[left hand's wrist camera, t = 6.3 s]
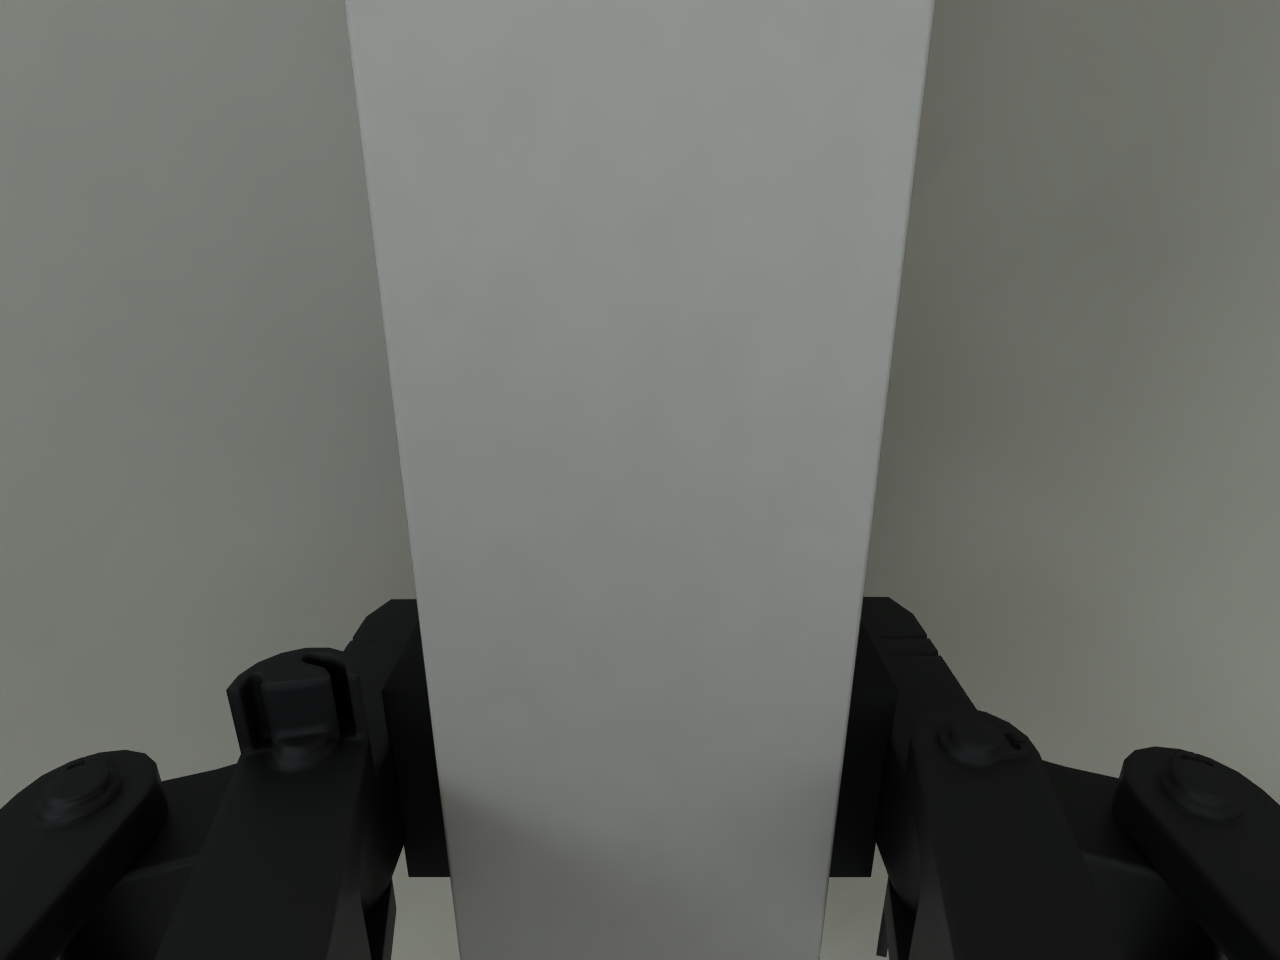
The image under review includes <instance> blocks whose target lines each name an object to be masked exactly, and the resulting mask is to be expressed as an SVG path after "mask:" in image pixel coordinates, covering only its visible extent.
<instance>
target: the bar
mask: <svg viewBox="0 0 1280 960" xmlns="http://www.w3.org/2000/svg"><path fill="white" fill-rule="evenodd" d="M344 3H345V12H346V20H347V28H348V37H349V45H350V53H351V61H352V70H353V78H354V86H355V94H356V103H357V111H358V119H359V127H360V136H361V144H362V152H363V160H364V169H365V177H366V185H367V193H368V202H369V210H370V218H371V226H372V235H373V243H374V251H375V259H376V268H377V276H378V284H379V293H380V301H381V309H382V317H383V326H384V334H385V342H386V350H387V359H388V367H389V375H390V383H391V392H392V400H393V408H394V416H395V425H396V433H397V441H398V449H399V458H400V466H401V474H402V482H403V491H404V499H405V507H406V515H407V524H408V532H409V540H410V549H411V557H412V565H413V573H414V582H415V590H416V598H417V606H418V615H419V623H420V631H421V639H422V648H423V656H424V664H425V672H426V681H427V689H428V697H429V705H430V714H431V722H432V730H433V738H434V747H435V755H436V763H437V771H438V780H439V788H440V796H441V805H442V813H443V821H444V829H445V838H446V846H447V854H448V862H449V871H450V879H451V887H452V895H453V904H454V912H455V920H456V928H457V937H458V945H459V953H460V960H819V958H820V949H821V941H822V933H823V924H824V916H825V908H826V900H827V891H828V883H829V875H830V867H831V858H832V850H833V842H834V833H835V825H836V817H837V809H838V800H839V792H840V784H841V776H842V767H843V759H844V751H845V742H846V734H847V726H848V718H849V709H850V701H851V693H852V685H853V676H854V668H855V660H856V652H857V643H858V635H859V627H860V618H861V610H862V602H863V594H864V585H865V577H866V569H867V561H868V552H869V544H870V536H871V527H872V519H873V511H874V503H875V494H876V486H877V478H878V470H879V461H880V453H881V445H882V437H883V428H884V420H885V412H886V403H887V395H888V387H889V379H890V370H891V362H892V354H893V346H894V337H895V329H896V321H897V312H898V304H899V296H900V288H901V279H902V271H903V263H904V255H905V246H906V238H907V230H908V221H909V213H910V205H911V197H912V188H913V180H914V172H915V164H916V155H917V147H918V139H919V131H920V122H921V114H922V106H923V97H924V89H925V81H926V73H927V64H928V56H929V48H930V40H931V31H932V23H933V15H934V6H935V0H344Z"/></svg>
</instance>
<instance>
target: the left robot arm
mask: <svg viewBox="0 0 1280 960" xmlns="http://www.w3.org/2000/svg"><path fill="white" fill-rule="evenodd" d="M226 691H227V696H228V700H229V704H230V708H231V712H232V717H233V721H234V725H235V729H236V734H237V738H238V742H239V746H240V751H241V755H240V758H239V760H238V763H237V764H233V765H230V766H227V767H223V768H220V769H216V770H212V771H207V772H203V773H198V774H193V775H189V776H184V777H180V778H175V779H171V780H166V781H162V782H161V779H160V775H159V772H158V768H157V765H156V763H155V762H154V761H153V760H152V759H151V758H150V757H149V756H147V755H146V754H145V753H140V752H134V751H129V750H119V751H110V752H100V753H97V754H93V755H89V756H87V757H84V758H83V757H82V758H79V759H76V760H74V761H71V762H68V763H66V764H65V765H63V766H61V767H58V768H56V769H54V770H52V771H50V772H48V773H46V774H44V775H42V776H41V777H39V778H38V779H37V780H35V781H34V782H33V783H31V784H30V785H29V786H27V787H26V788H24V789H23V790H22V791H20V792H19V793H18V794H17V795H15V796H14V797H13V798H12V799H11V800H10V801H9V802H8V803H7V804H6V805H5V806H3V807H2V808H1V809H0V960H391V953H392V944H393V935H394V926H395V916H396V903H395V896H394V889H393V882H392V875H393V872H394V870H395V867H396V864H397V862H398V859H399V856H400V853H401V851H402V848H403V845H404V848H405V855H406V862H407V869H408V875H409V877H450V871H449V862H448V854H447V846H446V838H445V829H444V821H443V813H442V805H441V796H440V788H439V780H438V771H437V763H436V755H435V747H434V738H433V730H432V722H431V714H430V705H429V697H428V689H427V681H426V672H425V664H424V656H423V648H422V639H421V631H420V623H419V615H418V606H417V599H391V600H390V601H388V602H387V603H385V604H384V605H382V606H381V607H380V608H378V609H377V610H375V611H374V612H372V613H371V614H370V615H368V616H367V617H366V618H365V620H364V621H363V623H362V624H361V626H360V627H359V629H358V630H357V632H356V633H355V635H354V636H353V641H350V642H349V644H348V645H347V647H346V648H345V650H344V651H340V650H336V649H332V648H303V649H299V650H294V651H289V652H284V653H280V654H278V655H275V656H273V657H270V658H268V659H265V660H263V661H260V662H258V663H256V664H255V665H253V666H252V667H250V668H249V669H247V670H246V671H244V672H243V673H241V674H240V675H238V677H237V678H236V679H235V680H234V681H233V683H232V684H231V685H230V686H229V687H228V689H227V690H226ZM876 843H877V846H878V849H879V851H880V854H881V857H882V859H883V862H884V865H885V867H886V870H887V873H888V882H887V889H886V895H885V901H884V908H883V914H882V920H881V927H880V933H879V939H878V947H877V954H876V955H877V956H883V957H886V955H887V949H888V952H889V960H1280V805H1279V804H1278V803H1277V802H1276V801H1275V800H1273V799H1272V798H1271V797H1270V796H1269V795H1268V794H1267V793H1266V792H1265V791H1263V790H1262V789H1261V788H1259V787H1258V786H1257V785H1255V784H1254V783H1253V782H1251V781H1250V780H1249V779H1247V778H1246V777H1244V776H1243V775H1242V774H1240V773H1239V772H1237V771H1235V770H1233V769H1231V768H1229V767H1227V766H1225V765H1223V764H1221V763H1219V762H1217V761H1215V760H1213V759H1211V758H1208V757H1205V756H1202V755H1200V754H1195V753H1193V752H1188V751H1185V750H1181V749H1174V748H1164V747H1149V748H1144V749H1139V750H1135V751H1134V752H1132V753H1131V754H1130V755H1129V756H1128V757H1127V758H1126V759H1125V760H1124V762H1123V766H1122V769H1121V773H1120V776H1119V778H1115V777H1110V776H1106V775H1101V774H1096V773H1092V772H1087V771H1083V770H1078V769H1073V768H1069V767H1064V766H1061V765H1057V764H1054V763H1050V762H1047V761H1043V760H1042V759H1041V757H1040V754H1039V752H1038V751H1037V749H1036V748H1035V747H1034V745H1033V744H1032V742H1031V741H1030V739H1029V738H1028V737H1027V736H1026V735H1025V734H1023V733H1022V732H1021V731H1019V730H1018V729H1017V728H1015V727H1014V726H1013V725H1011V724H1010V723H1009V722H1007V721H1004V720H1002V719H1000V718H998V717H996V716H993V715H991V714H989V713H987V712H983V711H979V710H977V709H976V708H975V706H974V705H973V703H972V702H971V700H970V699H969V697H968V696H967V694H966V693H965V691H964V690H963V688H962V687H961V685H960V684H959V682H958V681H957V679H956V678H955V676H954V675H953V673H952V672H951V670H950V669H949V667H948V666H947V664H946V663H945V661H944V660H943V658H942V657H941V656H938V651H937V649H936V648H935V646H934V645H933V643H932V642H931V640H930V639H927V634H926V633H925V631H924V630H923V628H922V627H921V625H920V624H919V622H918V621H917V619H916V618H915V616H914V615H913V614H912V613H911V612H909V611H908V610H906V609H905V608H903V607H902V606H901V605H899V604H898V603H896V602H895V601H893V600H892V599H891V598H889V597H863V602H862V610H861V618H860V627H859V635H858V643H857V652H856V660H855V668H854V676H853V685H852V693H851V701H850V709H849V718H848V726H847V734H846V742H845V751H844V759H843V767H842V776H841V784H840V792H839V800H838V809H837V817H836V825H835V833H834V842H833V850H832V858H831V867H830V875H829V877H871V872H872V865H873V858H874V851H875V845H876Z"/></svg>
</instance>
